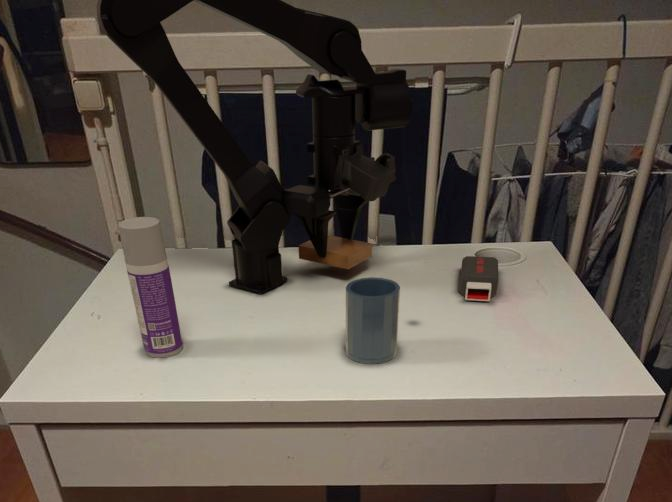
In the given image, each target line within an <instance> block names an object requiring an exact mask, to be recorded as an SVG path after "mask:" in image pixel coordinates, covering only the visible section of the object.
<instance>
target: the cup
mask: <svg viewBox="0 0 672 502" xmlns="http://www.w3.org/2000/svg"><path fill="white" fill-rule="evenodd" d="M400 297H401V286H400V285H399V283H398V282H396V281H394V280H392V279H389V278H384V277H371V276H370V277H362V278H358V279H354V280H352V281H349V282H348V283H347V284H346V287H345V354H346V356H347V357H348V358H349V359H350V360H352V361H354V362H356V363H360V364H364V365H365V364H366V365H376V364H377V365H378V364H383V363H387V362H389V361H391V360H392V359H394V358H395V357H396V355H397V347H398V334H399V333H398V332H399V318H400V317H399V316H400V315H399V314H400V300H401V299H400Z"/></svg>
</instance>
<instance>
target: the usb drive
mask: <svg viewBox="0 0 672 502" xmlns="http://www.w3.org/2000/svg"><path fill="white" fill-rule="evenodd" d="M460 269H461V270H460V277H459V278H460V279H459V286H458V293H459V294H460V295H461V296H463V297H464V301H478V302H490V300H491V298H493V297H495V296H496V295H497V292H498V285H499V260H498V259H497V258H496V257H495V256H472V255H466V256H465V257H463V258H462V261H461V267H460Z"/></svg>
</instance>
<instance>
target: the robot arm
mask: <svg viewBox="0 0 672 502" xmlns="http://www.w3.org/2000/svg"><path fill="white" fill-rule="evenodd" d="M192 2H196V3H198V4H200V5H201V6H203V7H206V8H208V9H211V11H215V12H217V13H219V14H221V15H223V16H225V17H227V18H229V19H231V20H234V21H236V22H238V23H240V24H243V25H245V26H246V27H248V28H251V29H252V30H254V31H257V32H259V33H261V34H264V35H265V36H268V37H270V38H272V39H275V40H276V41H278V42H279V43H281V44H282V45H283V46H285V47H286V48H287V49H288V50H289V51H291V52H292V53H293V54H294V55H295V56H296V57H298V58H299V59H300V60H302V61H303V62H305V63H306V64H307V65H308V66H310V67H311V68H312V69H314V70H315V71H317V72H321V73H325V74H329V75H331V76H332V75H333V76H336V77H338V78H340V80H341V79H342V80H345V81H349V82H353V83H355V85H356V86H346V87H345V86H343V84H342V83H341V81H340V80H339V79H324V80H318V79H317V77H316V76H315V75H313V74H310V73H308V74H306V76H305V78H304V81H303V82H302V83H301V84H300V85H299V86H298V87H297V88H296V89H295V94H296V95H297V96H299V97H300V98H304V99H311V111H312V112H311V115H312V141H310V142H308V143H306V152H307V153H313V155H312V156H313V174H311V175H308V176H307V184H308V185H310V186H308V185H302V184H298V185H295V186H293V187H290V188H284V187H283V186H282V184H281V181H280V180H279V178H278V175H277V174H276V172H275V170H274V169H273V168H272V167H271V166H269V165H268V164H267V163H265V162H264V161H262V160H259V161H258V162H257V164H256V165H254V164H253V163H252V162H251V161H250V160H249V157H247V155H246V154H245V152H244V151H243V150H242V148H241V146H239V144H238V143H237V141H236V140H235V138H234V137H233V136H232V134H231V133H230V132H229V130H228V129H227V127H226V126H225V125H224V123H223V122H222V120H221V119H220V118H219V116H218V115H217V113H216V112H215V110H214V109H213V108H212V107H211V105H210V104H209V102H208V100H207V99H206V97H204V95H203V94H202V93H201V91H200V90H199V88H198V86H197V85H196V84H195V83H194V81H193V80H192V78H191V77H190V75H189V74H188V73H187V71H186V70H185V68H184V67H183V66H182V64H181V63H180V61H179V59H178V58H177V56H176V55H177V54H176V53H175V51H174V49H173V46H172V45H171V41H170V40H169V37H168V35H167V32H166V31H165V29H164V27H163V25H162V23H161V22H163V21H165V20H166V19H168V18H169V17H171V16H172V15H174V14H175V13H177V12H179V11H180V10H181V9H183V8H184V7H185V6H187V5H188V4H190V3H192ZM96 18H97V21H98V25H99V26H100V28H101V30H102V32H103V33H104V35H105V36H106V37H107V38H108V39H109V40H110V41H111V42H112V43H113V44H114V45H115V46H116V47H117V48H118V49H119V50H120V51H121V52H123V54H125V56H127V58H129V59H130V60H131V62H133V63H134V64H135V65H136V66H137V67H138V68H139V69H140V70H141V71H142V72H143V73H144V74H146V76H148V77H149V78H150V80H152V82H153V83H154V84H155V85H156V87H157V88H158V89H159V91H160V92H161V93H162V95H163V96H164V97H165V98H166V100H167V101H168V103H169V104H170V105H171V107H172V108H173V109H174V110H175V112H176V113H177V114H178V116H179V117H180V118H181V120H182V121H183V123H184V124H185V125H186V126H187V128H188V129H189V130H190V132H191V133H192V134H193V136H194V137H195V138H196V140H197V141H198V142H199V143H200V146H202V148H203V149H204V150H205V151H206V153H207V154H208V155H209V157H210V158H211V159H212V161H213V162H214V164H216V166H217V168H218V169H219V170H220V171H221V172H222V174H223V175H224V178H225V179H226V182H227V184H228V186H229V188H230V191H231V192H232V195H233V197H234V199H235V200H236V202H237V204H238V206H237V208H236V209H235V211H234V212H233V213H232V214H231V215H230V217H229V219H227V222H226V224H227V226H228V228H229V230H230V232H231V235H232V236H233V237H234V238H235V239H232V240H231V250H232V257H233V264H234V274H235V278H234V279H232V280H230V281H229V282H228V286H229V287H233V288H237V289H240V290H244V291H248V292H252V293H256V294H264V293H266V292H268V291H270V290H272V289H274V288H276V287H278V286H280V285H282V284H283V283H286V282H288V276H285V275H283V266H282V254H281V252H280V249H279V246H280V242H281V239H282V235H283V231H285V229H286V227H287V226H288V225H289V223H290V221H291V217H292V215H293V216H296V217H297V219H298V221H299V223H300V225H301V226H302V227H303V229H304V231H305V232H306V234H307V236H308V238H309V240H311V242H312V244H313V246H314V248H315V250H316V252H317V254H318V256H319V257H321V258H325V257H326V252H327V240H328V235H329V223H330V221H331V219H332V218H334V216H335V215H337V220H338V224H339V225H338V226H339V229H340V235H341V238H346V239H352V240H354V236H355V234H356V233H355V232H356V230H357V226H358V223H359V219H360V215H361V214H362V211H363V208H364V206H365V205H367V204H368V203H369V202H375V201H377V199H379V198H381V197H382V198H384V197H385V196H387V192H388V189H389V187H390V184H391V183H393V182H395V181H396V180H397V177H396V175H395V174H396V172H397V171H396V157H395V156H394V155H392V154H391V153H389V152H385V153H383V154H380V155H379V156H378V157H377V158H375V157H374V156H371V157H368V156H366V155H364V152H363V151H364V145H363V144H362V140H356V123H358V124H360V125H361V128H362V129H363V130H364V131H365V132H367V131H368V132H369V131H379V130H388V129H399V128H406V127H407V126H408V124H409V123H410V121H411V117H412V113H413V103H414V102H413V99H412V95H411V94H412V93H411V88H410V86H409V83H408V81H407V70H406V69H402V68H392V69H389V70H386V71H376V72H375V70H374V68H373V66H372V65H371V63H370V62H369V59H368V58H367V57H366V54H365V53H364V51H363V49H362V47H363V46H362V38H361V35H360V31H359V29H358V27H357V25H355V24H354V23H353V22H351V21H350V20H348V19H345V18H340V17H336V16H332V15H330V14H329V15H328V14H324V13H320V12H317V11H311V10H306V9H303V8H298V7H296V6H294V5H291V4H290V3H287V2H285V1H283V0H97V2H96ZM311 185H313V186H311ZM314 186H315V187H314ZM331 199H333V201H334V205H335V210H330V207H331Z"/></svg>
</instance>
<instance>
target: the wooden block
mask: <svg viewBox="0 0 672 502" xmlns="http://www.w3.org/2000/svg"><path fill="white" fill-rule="evenodd" d="M372 249H373V243H372V242H366V241H363V240H362V241H361V240H356V239H346V238H342V236H341V237H340V236H336V235H330V234H328V240H327V252H326V257H325V258H321V257H319V256H318V254H317V252H316V250H315V248H314V246H313V244H312V242H311V240H310V239H309V240H308V241H305V242H303V243H300V244H299V245H298V259H299V260H303V261H309V262H312V263H317V264H322V265H326V266H330V267H335V268H338V269H339V268H340V269H344V270H350V269H351V268H353V267H355V266H357V265H359V264H361V263H362V262H364V261H366V260H368V259H370V258H371V257H372V251H373V250H372Z"/></svg>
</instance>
